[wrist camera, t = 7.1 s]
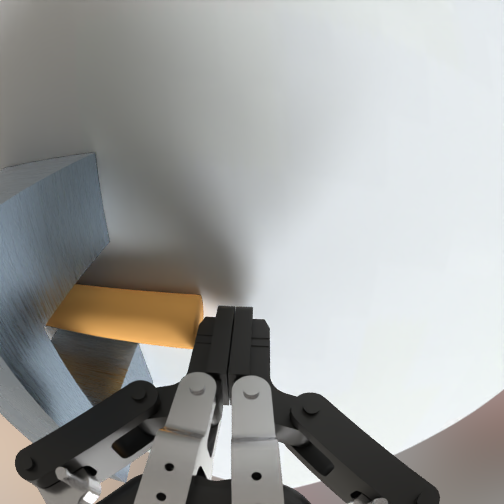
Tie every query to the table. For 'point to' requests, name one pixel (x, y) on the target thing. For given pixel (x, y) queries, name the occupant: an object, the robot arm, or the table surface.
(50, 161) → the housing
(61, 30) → the table surface
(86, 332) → the hammer
